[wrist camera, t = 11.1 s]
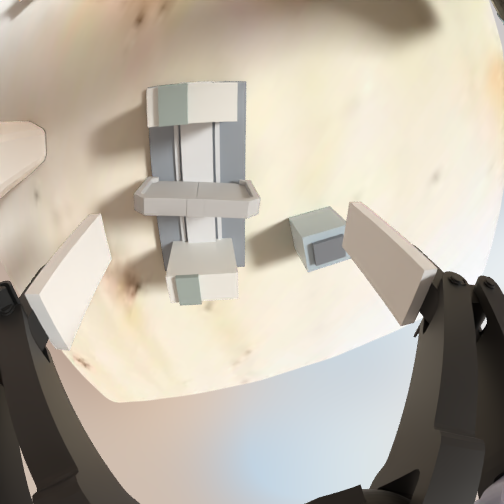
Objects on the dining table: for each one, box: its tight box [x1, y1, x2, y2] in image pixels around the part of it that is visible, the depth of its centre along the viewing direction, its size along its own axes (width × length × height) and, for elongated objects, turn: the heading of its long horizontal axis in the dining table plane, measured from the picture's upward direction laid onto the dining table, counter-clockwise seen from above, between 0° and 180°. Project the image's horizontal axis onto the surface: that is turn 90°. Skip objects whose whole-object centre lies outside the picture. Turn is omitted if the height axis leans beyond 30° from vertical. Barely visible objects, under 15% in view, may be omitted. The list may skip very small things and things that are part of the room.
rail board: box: [148, 81, 246, 271], centre depth 31 cm, size 24×11×2 cm, turn 179°
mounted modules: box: [147, 82, 238, 305], centre depth 27 cm, size 22×8×8 cm, turn 179°
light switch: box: [134, 177, 260, 219], centre depth 27 cm, size 2×12×8 cm, turn 83°
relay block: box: [289, 206, 351, 272], centre depth 34 cm, size 5×6×7 cm
